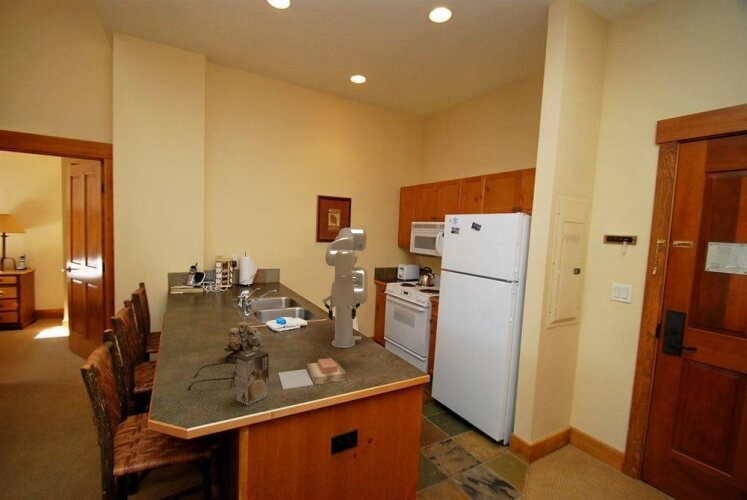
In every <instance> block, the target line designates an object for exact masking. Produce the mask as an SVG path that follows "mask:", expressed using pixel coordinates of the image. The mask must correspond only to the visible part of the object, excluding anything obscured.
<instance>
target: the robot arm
mask: <svg viewBox="0 0 747 500" xmlns="http://www.w3.org/2000/svg"><path fill="white" fill-rule="evenodd" d="M367 236H368V235H367V231H366V230H365V229H364V228H363V227H344V228H341V229H340V230H339V232H338V235H336V237H335V238H334V241H332V242H330V243H329V244H328V245H327V248H326V251H325V255H324V256H325V258H324V259H325V263H326V264H327V265H328V266H329V267H334V281H333V282H332V283H331V287H330V288H331V289H330V295H329V296H327V297H326V298H323V299H322V303H323V305H324V307H325V308H326V309H327V310H328V318H329V319H330V321H332V320H333V317H334V316H333V314H334V313H335V318H334V320H335V322H334V339H333V340H332V341H331V345H332V346H333V347H335V348H339V349H347V348H348V349H349V348H353V347H354V346H356V341H362V336H360V335H359V336H358V335H354V334H353V333H354V332H353V331H354V320H355V318H356V317H357V310H358V308H359V307H361V305H362V304H363V305H364V304H365V303H366V302H367V301H368V271H367V269H366V268H364V267H358V266H357V267H355V265H356V264H357V262H358V254H357V253H356V252H357V251H358V252H361V251H364V250H365V249H366V247H367V241H368V239H367ZM328 301H330V302H329V303H330V304H328V303H327V302H328ZM334 308H335V310H334V311H335V312H334V311H333V309H334ZM333 312H334V313H333Z"/></svg>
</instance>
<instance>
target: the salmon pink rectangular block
mask: <svg viewBox="0 0 747 500" xmlns="http://www.w3.org/2000/svg"><path fill="white" fill-rule="evenodd" d="M334 361H335V360H333V358H331V357H328V358H321V359H317V363H318V366H319V368H320V370H321V371H322V373H323V374H324V373H332V372H337V365H336V363H335V362H334Z"/></svg>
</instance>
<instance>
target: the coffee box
mask: <svg viewBox="0 0 747 500" xmlns="http://www.w3.org/2000/svg"><path fill="white" fill-rule="evenodd" d="M259 350H260V349H259ZM259 350H256V351H253V352H250V353H247V354H244V355H241V356H239V357H237V364H236V366H237V373H236V401H237V402H238V401H239V402H238V403H240V402H241V404H243V403H244V404H243V405H245V404H246V405H245V406H247V405H249V406H250V404H251V405H252V403H253V404H255V403H257V402H259V401H261V400H262V399H264V398H265V399H266V398H267V397H268V396H269V392H270V391H269V389H270V387H269V385H270V384H269V382H270V381H269V379H270V378H269V373H270V371H269V369H270V368H269V366H270V364H269V363H270V362H269V358H270V357H269V355H270V354H269V352H266V351H262V350H260V351H259ZM256 401H257V402H256ZM254 402H255V403H254Z"/></svg>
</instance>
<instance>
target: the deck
mask: <svg viewBox="0 0 747 500" xmlns="http://www.w3.org/2000/svg"><path fill="white" fill-rule="evenodd" d="M333 361H334V362H335V363H336V365H337V372H332V373H324V374H323V373H322V371H321V370H320V368H319V366H318V362H313V363H307V365H306V366H307V367H306V370H307V372H308V374H309V376H310V378H311V380H312V382H313V384H314V386H317V384H319V385H324V383H325V384H331V382H332V383H336V382H337V383H338V382H343V381H344V382H345V381H347V372H346V371H345V370H344V369H343V367H342V366H341V364H340V363H339V362H338V360H333Z"/></svg>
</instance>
